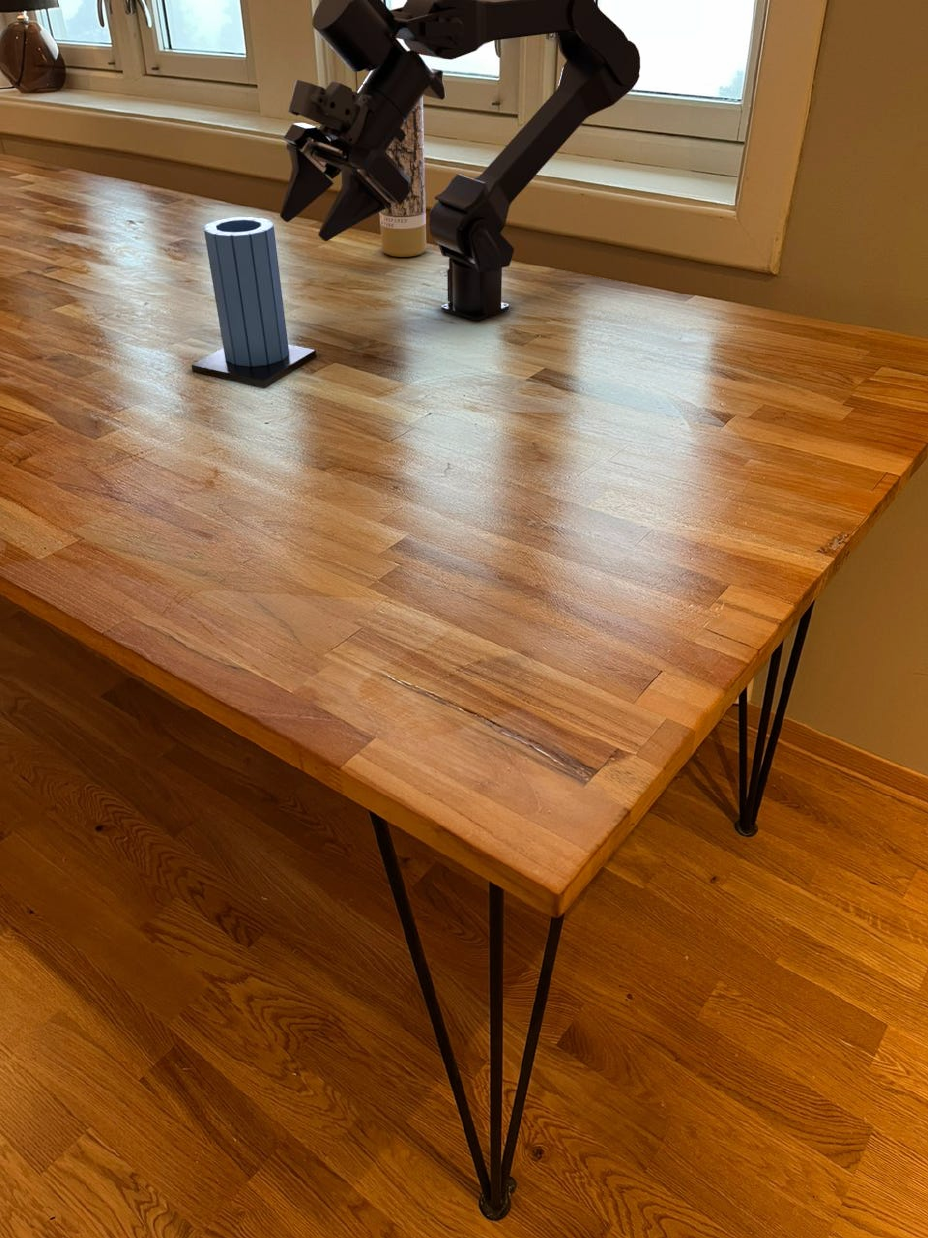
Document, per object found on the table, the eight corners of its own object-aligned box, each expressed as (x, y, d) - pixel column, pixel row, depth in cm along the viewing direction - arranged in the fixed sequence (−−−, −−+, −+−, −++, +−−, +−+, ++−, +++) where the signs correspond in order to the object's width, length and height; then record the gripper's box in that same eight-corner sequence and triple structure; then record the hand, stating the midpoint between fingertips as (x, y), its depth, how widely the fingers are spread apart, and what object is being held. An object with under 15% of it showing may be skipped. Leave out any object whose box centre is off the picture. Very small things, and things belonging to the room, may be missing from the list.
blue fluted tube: (285, 339, 110) (269, 214, 102) (291, 362, 105) (276, 232, 96) (223, 345, 109) (202, 219, 100) (226, 369, 103) (204, 237, 95)
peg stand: (316, 356, 108) (312, 313, 105) (264, 388, 101) (258, 343, 98) (247, 342, 112) (241, 300, 109) (192, 371, 105) (184, 327, 102)
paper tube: (420, 259, 137) (414, 64, 122) (376, 256, 139) (365, 62, 123) (431, 246, 143) (426, 57, 128) (388, 244, 144) (379, 56, 129)
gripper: (290, 37, 100) (210, 163, 102) (378, 55, 88) (286, 197, 89) (359, 112, 108) (284, 227, 110) (448, 138, 96) (363, 267, 98)
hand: (301, 228), depth 102 cm, fingers open, 9 cm apart
